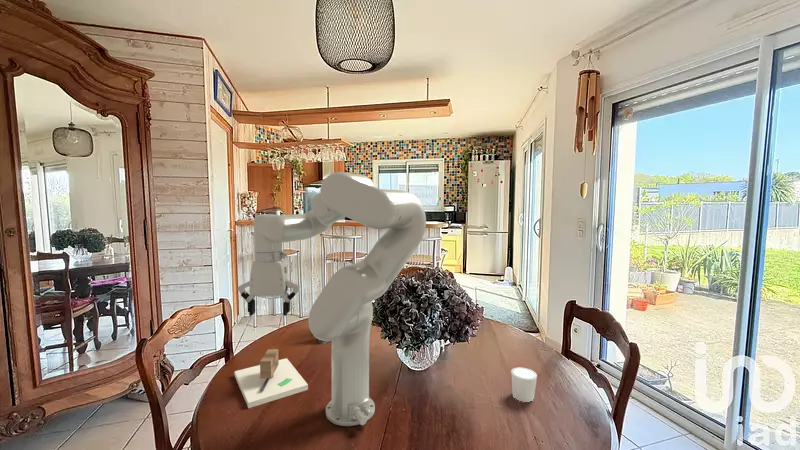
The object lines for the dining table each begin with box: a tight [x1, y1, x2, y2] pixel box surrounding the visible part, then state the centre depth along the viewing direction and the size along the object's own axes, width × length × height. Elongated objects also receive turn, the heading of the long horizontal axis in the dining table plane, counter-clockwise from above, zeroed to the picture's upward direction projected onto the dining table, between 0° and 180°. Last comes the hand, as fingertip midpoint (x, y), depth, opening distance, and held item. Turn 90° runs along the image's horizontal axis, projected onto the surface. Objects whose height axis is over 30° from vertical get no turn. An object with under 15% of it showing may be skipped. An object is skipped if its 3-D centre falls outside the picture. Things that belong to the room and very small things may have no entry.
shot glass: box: [510, 366, 538, 403], centre depth 97 cm, size 7×7×7 cm
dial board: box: [234, 357, 309, 409], centre depth 103 cm, size 20×16×2 cm
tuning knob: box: [259, 348, 279, 392], centre depth 101 cm, size 12×3×7 cm, turn 5°
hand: (269, 314), depth 102 cm, fingers open, 9 cm apart
